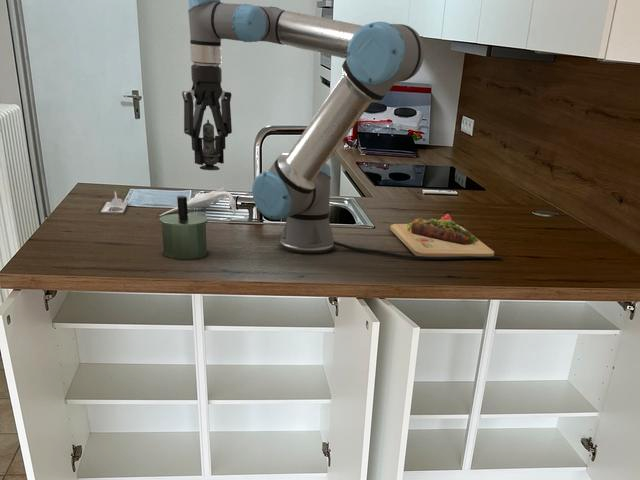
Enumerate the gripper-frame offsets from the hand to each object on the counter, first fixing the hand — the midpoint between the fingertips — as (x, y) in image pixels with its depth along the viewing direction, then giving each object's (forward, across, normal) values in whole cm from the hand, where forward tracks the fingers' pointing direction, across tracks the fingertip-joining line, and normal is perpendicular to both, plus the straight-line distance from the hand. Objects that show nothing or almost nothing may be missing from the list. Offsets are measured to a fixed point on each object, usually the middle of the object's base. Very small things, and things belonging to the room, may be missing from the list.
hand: (209, 163), depth 199 cm
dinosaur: (+22, -20, -34) cm, 44 cm away
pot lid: (+12, +12, +6) cm, 18 cm away
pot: (+21, +12, +6) cm, 25 cm away
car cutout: (+22, +2, -52) cm, 57 cm away
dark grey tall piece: (+2, 0, 0) cm, 2 cm away
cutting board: (+20, -57, +36) cm, 70 cm away
